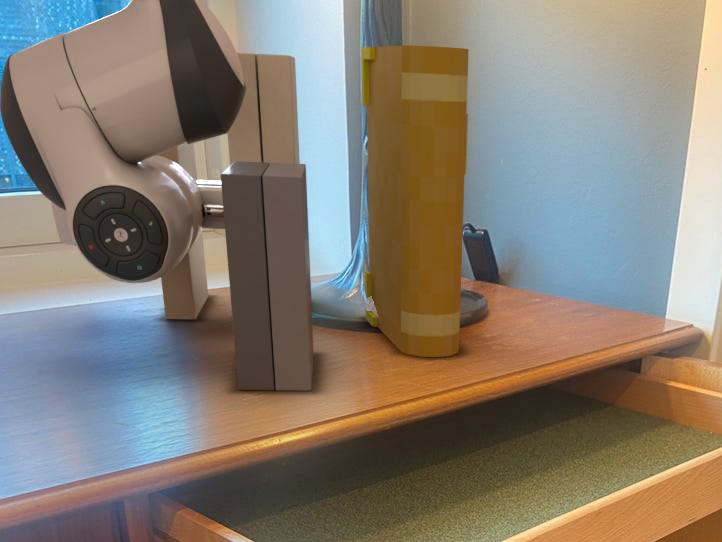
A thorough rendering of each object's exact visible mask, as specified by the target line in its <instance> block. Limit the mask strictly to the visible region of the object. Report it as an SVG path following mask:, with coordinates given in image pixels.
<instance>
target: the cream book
mask: <svg viewBox="0 0 722 542" xmlns="http://www.w3.org/2000/svg"><path fill="white" fill-rule="evenodd" d="M158 156H162V157H165V158H167V159H170V160H172V161H173V162H175V163H177V164H178V165H179V166H181V167H182V168H183V169H184V170H185V171H186V172H187V173H188V174H189V175H190V176H191V177H192V179H193V180H198V174H197V173H198V172H197V163H196V152H195V143H192V144H187V143H185V144H182V145H180V146H178V147H175V148H173V149H170V150H168V151H165V152H163V153H160V154H158ZM160 281H161V288H162V297H163V306H164V315H165V320H196V319H197V318H198V316H199V314H200V312H201V311H202V308H203V307H204V305H205V303H206V301H207V299H208V298H209V290H208V289H209V288H208V278H207V267H206V257H205V248H204V235H203V231H202V232H201V234H200V236H199V238H198V240H197V241H196V242H195V244H194V245H193V246H192V248H191V249H190V250H189V251H188V253H187V254H186V255H185V257H184V258H183V259H182V260H181V262H180V263H179V264H178V265H177V266H176V267H175V268H173V269H172V270H171V271H170V272H169V273H167V274H166V275H164V276H162V277H160Z"/></svg>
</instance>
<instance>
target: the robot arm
mask: <svg viewBox="0 0 722 542" xmlns="http://www.w3.org/2000/svg"><path fill="white" fill-rule="evenodd" d="M236 50H237V49H236V48H235V46H234V44H233V41H232V40H231V37H230V36H229V34H228V33H227V31H226V29H225V28H224V26H223V25H222V23H221V22H220V21H219V19H218V18H217V17H216V15H215V14H214V13H213V11H212V10H211V9H210V7H209V6H208V5H207V4H206V2H204V0H130V1H129V3H128V4H127V5H126V6H125V7H124V8H122V9H121V10H119V11H116V12H114V13H112V14H109V15H106V16H104V17H102V18H100V19H99V18H98V19H97V20H95V21H92V22H90V23H87V24H85V25H83V26H80V27H78V28H75V29H72V30H70V31H68V32H66V33H64V32H62V33H59V34H57V35H54V36H52V37H49V38H47V39H45V40H41V41H40V42H38V43H35V44H33V45H31V46H28V47H26V48H24V49H22V50H20V51H18V52H16V53H14V54H12V53H11V54H10V55H9V56H8V58H7V59H6V61H5V64H4V67H3V71H2V74H1V82H0V117H1V120H2V124H3V128H4V131H5V133H6V135H7V138H8V140H9V142H10V144H11V146H12V148H13V150H14V151H13V152H14V153H15V155H16V157H17V159H18V160H19V162H20V164H21V166H22V168H23V169H24V170H25V172H26V174H27V175H28V177H29V178H30V180H31V181H32V183H33V184H34V185H35V187H36V188H37V190H38V191H39V192H40V193H41V194H42V195H43V196H44V197H45V198H46V199H47V200H49V201H50V203H51V210H52V214H53V220H54V224H55V227H56V231H57V234H58V238H59V240H60V242H61V243H62V244H64V245H68V246H75V247H76V248H77V250H78V252H79V253H80V255H81V256H82V257H83V259H84V260H85V261H86V262H87V263H88V264H89V265H90V266H91V267H92V268H94V269H95V270H97V272H99V273H100V274H102V275H104V276H106V277H108V278H110V279H112V280H114V281H117V282H121V283H128V284H144V283H149V282H153V281H156V280H158V279H161V277H162V276H164V275H166V274H167V273H169V272H170V271H171V270H172V269H173V268H175V267H176V266H177V265H178V264H179V263H180V262H181V260H182V259H183V258H184V257H185V255H186V254H187V253H188V251H189V250H190V249H191V248H192V246H193V245H194V244H195V242H196V241H197V240H198V238H199V236H200V234H201V232H202V233H203V229H205V230H206V229H207V230H209V229H210V230H225V222H224V210H223V198H222V185H221V180H209V179H197V180H193V179H192V177H191V176H190V175H189V174H188V173H187V172H186V171H185V170H184V169H183V168H182V167H181V166H179V165H178V164H177V163H175V162H173V161H172V160H170V159H167V158H165V157H162V156H158V154H160V153H163V152H165V151H168V150H170V149H173V148H175V147H178V146H180V145H182V144H185V143H187V144H192V143H194V144H195V143H198V142H202V141H205V140H209V139H212V138H216V137H220V136H223V135H228V134H227V132H228V131H229V129H230V128H231V126H232V124H233V123H234V121H235V119H236V117H237V115H238V113H239V110H240V108H241V105H242V102H243V99H244V95H245V92H246V85H245V82H244V77H243V71H242V67H241V63H240V60H239V57H238V55H237V53H238V52H237V51H236Z"/></svg>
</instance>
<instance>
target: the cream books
mask: <svg viewBox="0 0 722 542" xmlns="http://www.w3.org/2000/svg"><path fill="white" fill-rule="evenodd" d="M237 55H238V57H239V60H240V63H241V67H242V71H243V77H244V82H245V85H246V92H245V95H244V99H243V102H242V105H241V108H240V110H239V113H238V115H237V117H236V119H235V121H234V123H233V124H232V126H231V128H230V129H229V131H228V132H227V134H226V135H227V145H228V158H229V166H231V165H232V164H233V163H234V162H235V161H240V162H265V163H270V164H271V163H291V164H301V159H300V138H299V137H300V136H299V118H298V117H299V116H298V114H299V113H298V95H297V94H298V93H297V72H296V70H297V69H296V58H295V57H294V56H292V55H286V54H271V53H267V54H266V53H253V52H237Z"/></svg>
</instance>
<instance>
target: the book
mask: <svg viewBox="0 0 722 542" xmlns="http://www.w3.org/2000/svg"><path fill="white" fill-rule="evenodd" d="M360 50H361V51H360V53H361V55H360V56H361V106H362V107H363V106H364V107H366V123H367V124H366V125H367V126H366V128H367V132H366V133H367V138H366V139H367V194H368V195H367V198H368V199H367V200H368V203H367V204H368V205H367V206H368V208H367V209H368V266H369V267H368V268H369V269H368V271H364V291H365V292H364V294H365V293H366V296H367V298H368V297H370V296H372V299H373V301H374V305H375V307H376V310H377V314H378V316H379V318H378V317H377V316H376V315H375V314H374V313H373V312H372V311H367V310H366V309H365V311H364V312H365V320H366V321H367V322H368V323H369V324H370V325H371V326H372V327H373V328H378V329H379V330H380V331H381V332H382V333H383V334H384V335H385V336H386V338H388V340H389V341H390V342H391V343H392V344H393V345H394V346H395V347H396V348H397V350H398V351H400V352H401V353H402V354H405V355H409V356H414V357H422V358H444V357H450V356H454V355H456V354H458V353H459V351H460V329H461V328H460V326H461V297H462V296H461V295H462V264H463V238H464V237H463V231H464V207H465V206H464V205H465V203H464V202H465V175H467V156H468V155H467V151H468V128H469V127H468V125H469V124H468V123H469V114H468V112H467V108H468V106H467V105H468V77H469V51H470V50H469V49H468V48H463V47H449V46H433V45H432V46H429V45H411V44H410V45H406V44H404V45H403V44H402V45H401V44H400V45H388V46H387V45H385V46H362V47H361V48H360Z"/></svg>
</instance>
